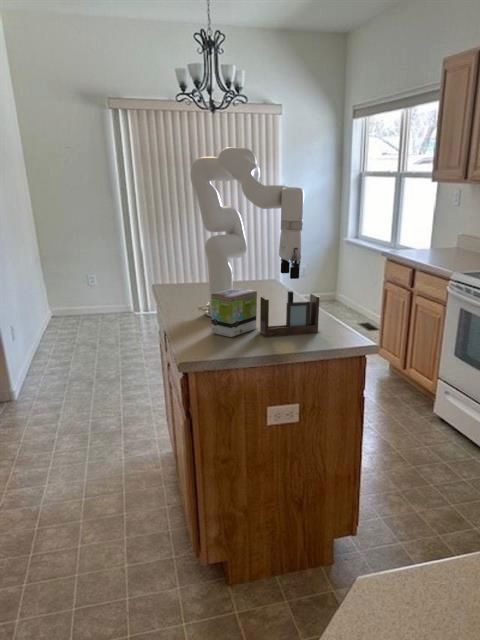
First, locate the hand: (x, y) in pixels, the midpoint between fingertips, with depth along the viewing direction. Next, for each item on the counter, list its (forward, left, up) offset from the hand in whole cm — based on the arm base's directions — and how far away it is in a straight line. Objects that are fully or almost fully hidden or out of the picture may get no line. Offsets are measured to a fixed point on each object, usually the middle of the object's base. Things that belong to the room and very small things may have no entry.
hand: (289, 275), depth 189 cm
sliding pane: (+4, -1, -20) cm, 20 cm away
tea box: (-18, +8, -21) cm, 29 cm away
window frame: (+1, +1, -21) cm, 21 cm away
